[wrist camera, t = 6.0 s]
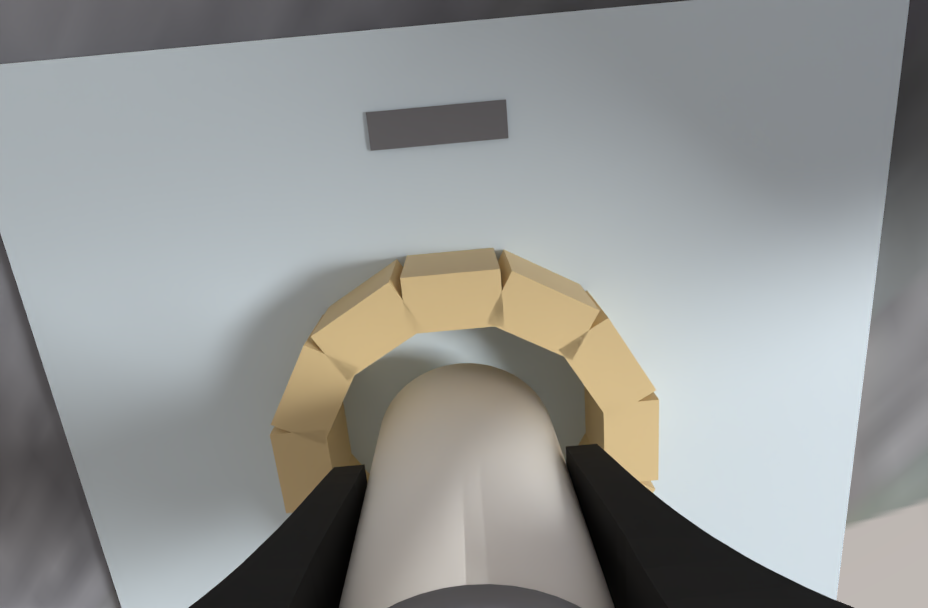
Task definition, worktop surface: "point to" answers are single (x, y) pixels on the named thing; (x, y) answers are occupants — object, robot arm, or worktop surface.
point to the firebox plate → (459, 260)
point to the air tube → (471, 503)
